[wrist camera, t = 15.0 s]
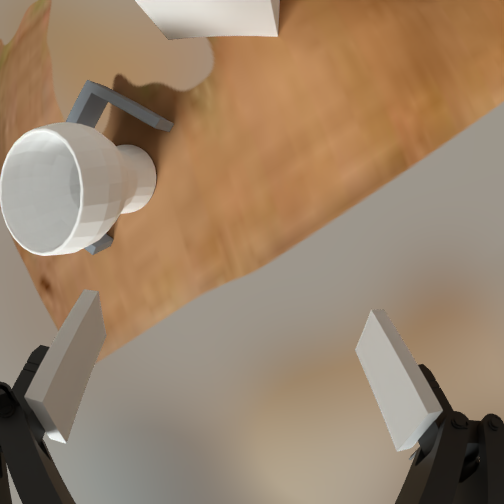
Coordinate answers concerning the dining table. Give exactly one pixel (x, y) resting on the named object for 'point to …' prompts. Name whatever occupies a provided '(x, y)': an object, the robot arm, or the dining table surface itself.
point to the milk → (213, 17)
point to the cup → (70, 187)
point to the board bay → (89, 113)
